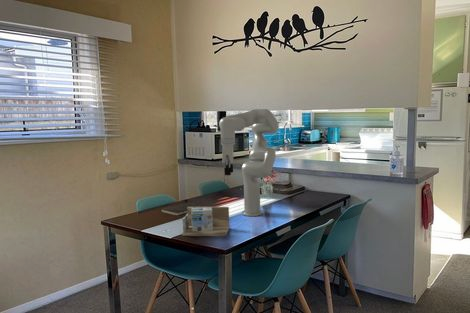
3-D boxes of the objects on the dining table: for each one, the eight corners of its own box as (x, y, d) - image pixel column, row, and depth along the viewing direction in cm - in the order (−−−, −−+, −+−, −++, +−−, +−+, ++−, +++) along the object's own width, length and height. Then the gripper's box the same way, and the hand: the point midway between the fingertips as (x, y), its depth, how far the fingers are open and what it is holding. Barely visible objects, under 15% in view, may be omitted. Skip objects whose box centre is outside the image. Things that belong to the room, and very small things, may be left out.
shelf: (188, 227, 221) (187, 206, 219) (229, 228, 218) (228, 206, 217) (182, 235, 207) (181, 213, 205) (225, 236, 204) (224, 213, 203)
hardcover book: (205, 209, 264) (205, 205, 264) (177, 216, 248) (176, 212, 247) (189, 205, 275) (188, 202, 275) (160, 212, 259) (160, 208, 258)
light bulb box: (192, 232, 208) (191, 211, 206) (191, 228, 214) (190, 208, 213) (213, 230, 209) (212, 209, 208) (212, 226, 216) (211, 206, 215)
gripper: (223, 140, 227) (224, 171, 229) (218, 143, 210) (219, 176, 212) (236, 140, 226) (237, 171, 228) (233, 143, 209) (234, 176, 211)
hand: (228, 173), depth 220 cm, fingers open, 9 cm apart
